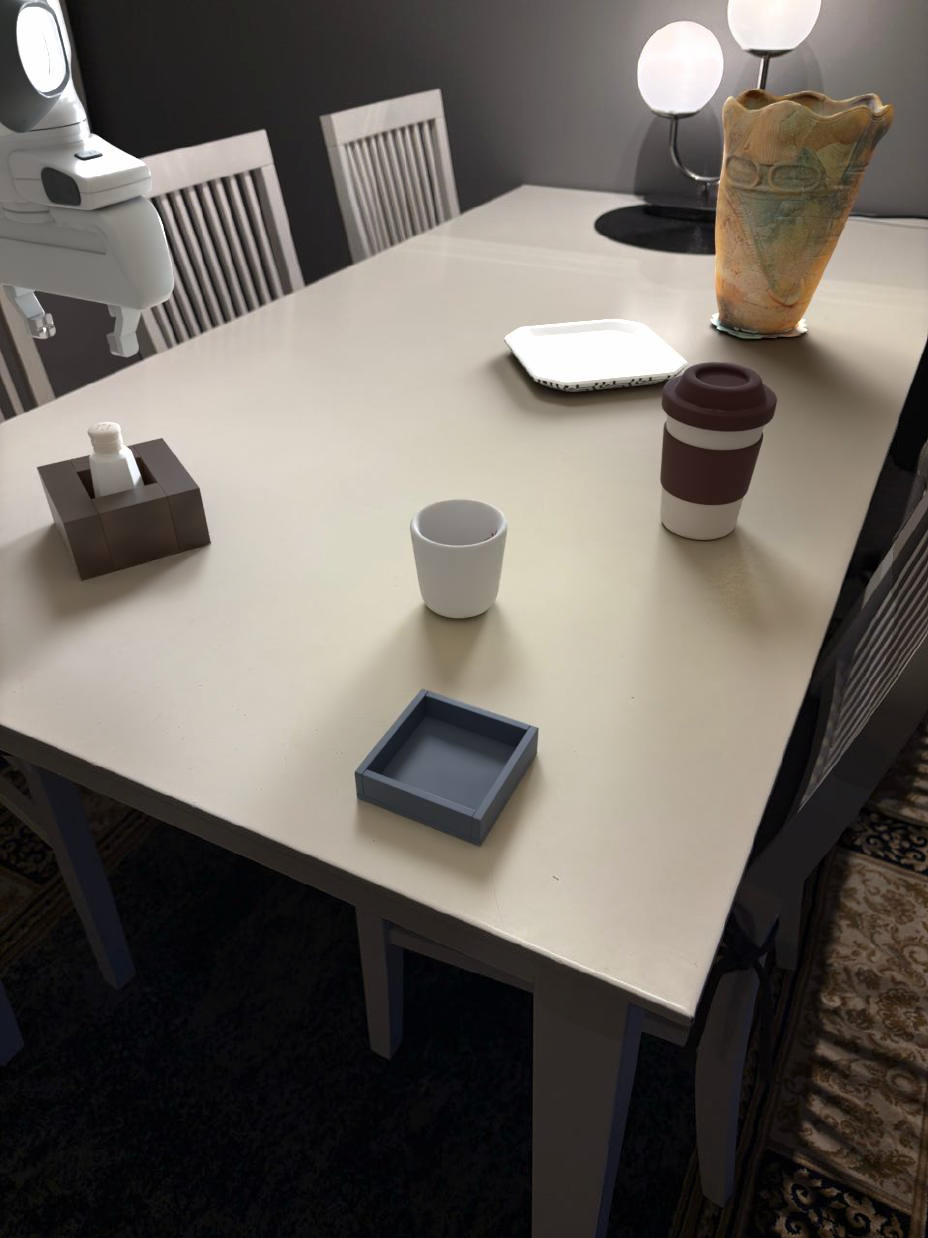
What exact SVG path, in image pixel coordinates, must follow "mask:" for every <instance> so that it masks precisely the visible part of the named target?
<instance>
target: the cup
mask: <svg viewBox="0 0 928 1238" xmlns="http://www.w3.org/2000/svg"><path fill="white" fill-rule="evenodd" d="M508 527H509V525H508V520H507V517H506V516H505V514H504V513H503V512H502V511H501V510H500V509H498V508H497V507H496V506H494V505H492V504H490V503H487V502H484V501H481V500H477V499H472V498H471V499H470V498H449V499H447V498H446V499H443V500H437V501H434V502H431V503H428V504H426V505H425V506H423V507H421V508H420V509H418V511H416V512H415V514H413V516H412V517H411V520H410V522H409V532H410V538H411V539H410V540H411V544H412V551H413V558H414V563H415V570H416V575H417V582H418V586H419V592H420V595H421V599H422V600H423V602H424V604H425V605H426V607H428V609H430V610H431V611H432V612H434V613H436V614H437V615H439V616H442V617H445V618H450V619H467V618H473V617H477V616H479V615H482V614H483V613H485V612H487V611H488V610H489V609H490V608H491V607H492V606H493V604H494V603H495V601H496V599H497V596H498V593H499V590H500V584H501V577H502V571H503V570H502V569H503V564H504V563H503V562H504V558H505V550H506V543H507V542H506V541H507V535H508Z"/></svg>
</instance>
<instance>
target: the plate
mask: <svg viewBox="0 0 928 1238" xmlns="http://www.w3.org/2000/svg"><path fill="white" fill-rule="evenodd" d="M503 342H504V343H505V345H506V346H507V347H508V348H509V350H510V351H511V352H512V354H513V355H514V356H515V358H516V359H517V361H518V362H519V363H520V365H521V366H522V367H523V368H524V370H525V371H526V372H527V373H528V375H529V377H531V379H532V380H533V381H534V382H536V383H538V384H541V385H543V386H545V387H547V388H549V389H554V390H558V391H562V392H565V393H566V392H567V393H580V392H591V391H599V390H601V391H602V390H609V389H610V390H611V389H621V388H629V387H631V388H632V387H639V386H640V387H641V386H649V385H651V386H652V385H656V384H658V383H661V382H664V381H666V380H671V379H673V378H675V377H678V376H679V374H681V372H682V371H685V370H686V369H687V368H688V361H687V360H685V358H683V356H681V355H680V354H679V353H678V352H676V351H675V350H674V349H673V348H672V347H671V346H670V345H669V344H667V343H666V342H665V341H664V340H663V339H662V338H660V337H659V336H658V335H657V334H656V333H655V332H654V331H653V330H652V329H650V328H649V327H648V326H647V325H646V324H644V323H641V322H637V321H630V320H625V319H620V318H611V319H599V320H598V319H597V320H588V321H587V320H586V321H575V322H564V323H552V324H541V325H540V324H539V325H529V326H521V327H518V328H516V329H514V330H513V331H512V332H511V333H509V334H507V335H506V336H505V337H504V338H503Z"/></svg>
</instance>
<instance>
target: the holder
mask: <svg viewBox="0 0 928 1238" xmlns="http://www.w3.org/2000/svg"><path fill="white" fill-rule="evenodd" d="M125 446H126V447H127V448H128V449H130V450H131V452H132V454H133V456H134V459H135V461H136V464H137V467H138V469H139V472H140V475H141V477H142V480H143V483H144V486H142V487H138V488H134V489H130V490H126V491H122V492H118V493H114V494H110V495H106V496H102V497H99V498H95V493H94V487H93V481H92V474H91V468H90V461H89V456H90V455H91V454H87V455H83V456H79V457H74V458H71V459H70V458H69V459H65V460H62V461H57V462H52V463H48V464H45V465H44V464H43V465H40V466H36V469H37V473H38V476H39V479H40V482H41V485H42V488H43V491H44V495H45V499H46V501H47V505H48V507H49V510H50V511H49V512H50V513H51V517H52V520H53V523H54V524H55V527H56V529H57V532H58V533H59V535H60V537H61V541H62V542H63V544H64V546H65V549H66V551H67V554H68V555H69V557H70V559H71V562H72V564H73V566H74V569H75V571H76V573H77V575H78V577H79V579H80V581H85V580H88V579H92V578H94V577H98V576H102V575H105V574H109V573H112V572H115V571H119V570H123V569H126V568H130V567H134V566H137V565H139V564H140V565H141V564H144V563H148V562H151V561H153V560H157V559H162V558H164V557H165V558H166V557H168V556H171V555H175V554H178V553H182V552H185V551H189V550H193V549H196V548H200V547H204V546H206V545H210V544H211V543H212V541H211V536H210V531H209V527H208V522H207V517H206V513H205V511H206V510H205V506H204V502H203V496H202V492H201V488H200V486H199V485H198V484H197V482H196V481H195V479H194V478H193V477H192V475H191V474H190V473H189V472H188V470H187V469H186V467H185V466H184V465H183V463H182V462H181V461H180V460H179V458H178V457H177V455H176V454H175V453H174V451H173V450H172V449H171V448H170V446H169V445H168V444H167V442H166V441H165V440H164V438H163V437H161V438H156V439H155V438H154V439H151V440H147V441H144V442H139V443H134V444H130V445H125Z"/></svg>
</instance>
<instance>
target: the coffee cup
mask: <svg viewBox="0 0 928 1238" xmlns="http://www.w3.org/2000/svg"><path fill="white" fill-rule="evenodd" d="M660 402H661V404H660V405H661V408H662V410H663V412H664V413H665V414H666V420H665V422H664V424H663V429H662V430H663V431H662V446H661V461H660V462H661V463H660V476H659V481H660V485H661V496H660V510H659V516H660V518H659V519H660V520H661V523H662V525H664V527H665V528H666V529H667V530H668V531H670V532H671V533H674V534H676V535H678V536H680V537H683V538H686V539H692V540H700V541H709V540H716V539H721V538H723V537H726V536H727V535H729V534H730V533H731V532H733V530H734V529H735V527H736V525H737V522H738V519H739V515H740V511H741V508H742V505H743V501H744V499H745V496H746V495H747V493H748V491H749V488H750V485H751V481H752V478H753V475H754V471H755V468H756V464H757V461H758V458H759V454H760V451H761V447H762V444H763V440H764V432H763V431H764V428H765V425H767V424H769V423H770V422H771V421H772V420H773V419H774V416H775V413H776V409H777V403H778V397H777V395H776V393H775V391H773V389H772V388H770V387H769V386H768V385H766V384H765V383H764V382H763V378H762V376H761V375H760V374H759V373H758V372H756V371H755V370H753V369H751V368H749V367H746V366H743V365H740V364H737V363H730V362H721V361H709V362H700V363H695V364H693V365H691V366H689V367H686V368H685V369H684V370H683V373H682V374H680V375H677V376H676V377H673V378H670V379H669V380H668V381H667V382H666V383H665V384H664V386H663V388H662V395H661V401H660Z"/></svg>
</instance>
